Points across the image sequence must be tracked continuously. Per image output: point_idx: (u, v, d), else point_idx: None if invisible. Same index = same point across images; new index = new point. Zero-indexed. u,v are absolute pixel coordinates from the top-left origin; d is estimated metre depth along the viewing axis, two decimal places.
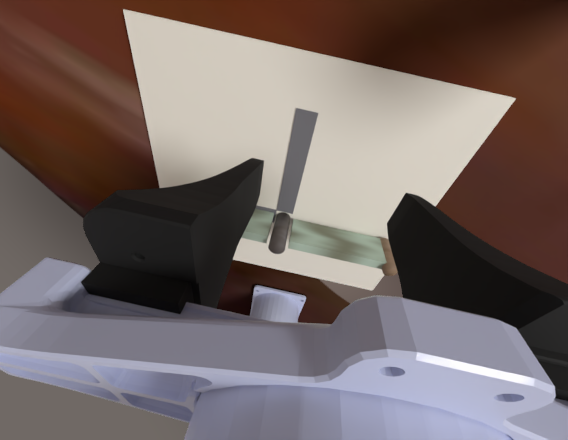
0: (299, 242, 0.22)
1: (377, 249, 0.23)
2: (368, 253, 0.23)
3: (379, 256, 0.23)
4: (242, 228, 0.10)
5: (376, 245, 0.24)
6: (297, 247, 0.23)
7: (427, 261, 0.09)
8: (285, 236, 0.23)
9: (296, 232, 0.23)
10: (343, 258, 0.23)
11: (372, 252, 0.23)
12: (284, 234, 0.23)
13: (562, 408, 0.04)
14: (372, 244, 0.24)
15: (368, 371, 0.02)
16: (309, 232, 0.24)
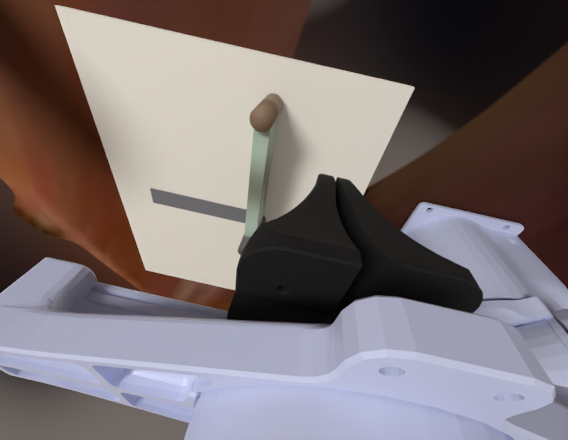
0: (245, 226, 0.20)
1: None
2: None
3: None
4: None
5: None
6: (252, 229, 0.20)
7: None
8: None
9: None
10: (258, 183, 0.17)
11: None
12: None
13: (562, 408, 0.04)
14: None
15: (368, 371, 0.02)
16: None
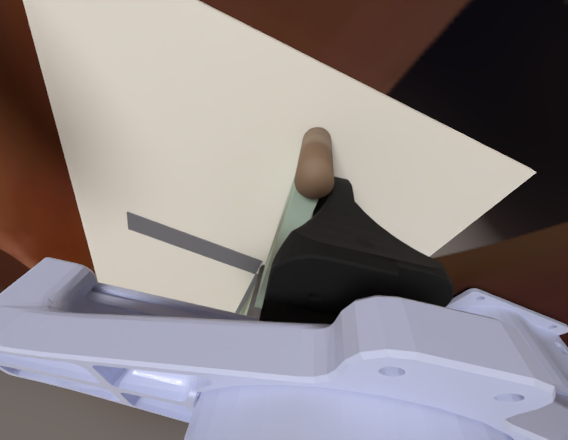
0: (257, 297, 0.14)
1: None
2: (288, 205, 0.10)
3: (294, 186, 0.10)
4: None
5: None
6: None
7: None
8: None
9: (260, 283, 0.16)
10: None
11: (291, 194, 0.10)
12: (254, 301, 0.16)
13: (563, 408, 0.04)
14: None
15: (368, 371, 0.02)
16: (265, 266, 0.15)
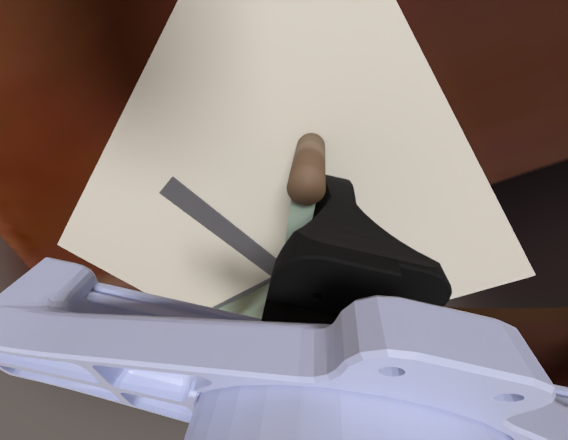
0: None
1: None
2: None
3: None
4: None
5: None
6: None
7: None
8: None
9: None
10: None
11: None
12: None
13: (562, 408, 0.04)
14: None
15: (368, 371, 0.02)
16: None
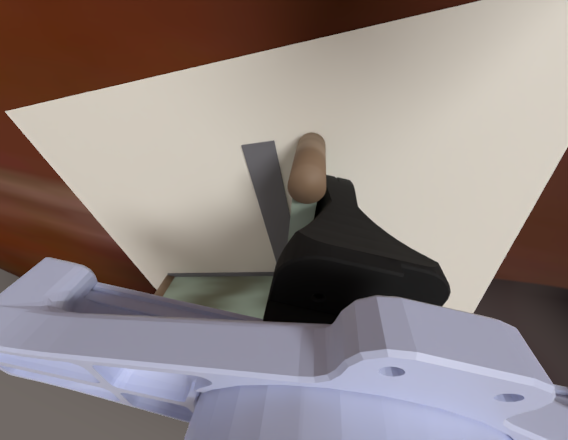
0: None
1: None
2: None
3: None
4: None
5: None
6: None
7: None
8: None
9: None
10: None
11: None
12: None
13: (562, 407, 0.04)
14: None
15: (368, 371, 0.02)
16: None
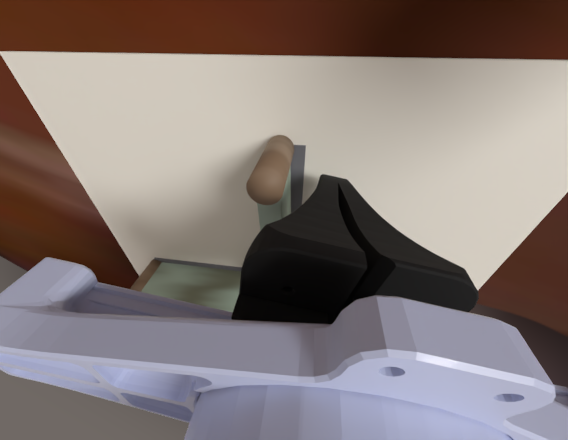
0: None
1: None
2: None
3: None
4: None
5: None
6: None
7: None
8: None
9: None
10: None
11: None
12: None
13: (562, 408, 0.04)
14: None
15: (368, 371, 0.02)
16: None
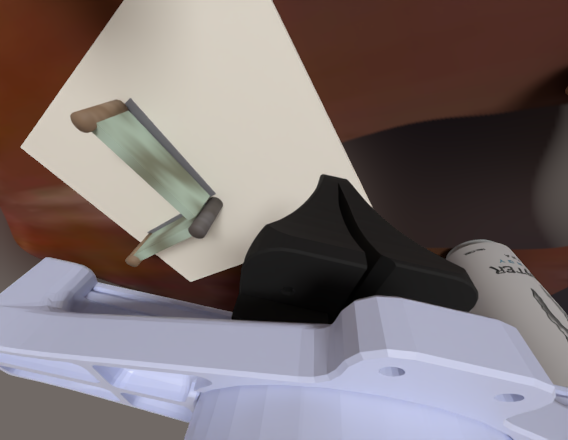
0: None
1: None
2: None
3: None
4: None
5: None
6: (185, 210, 0.21)
7: None
8: (203, 217, 0.21)
9: None
10: (141, 169, 0.18)
11: None
12: (202, 216, 0.22)
13: (562, 407, 0.04)
14: None
15: (368, 371, 0.02)
16: None
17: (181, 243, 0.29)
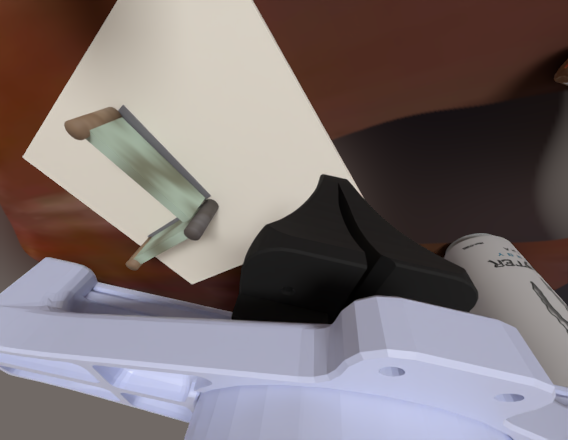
0: (176, 215, 0.21)
1: None
2: None
3: None
4: None
5: None
6: (179, 213, 0.21)
7: None
8: (198, 219, 0.22)
9: None
10: (135, 174, 0.19)
11: None
12: (197, 218, 0.22)
13: (563, 408, 0.04)
14: None
15: (368, 371, 0.02)
16: None
17: (180, 246, 0.30)
